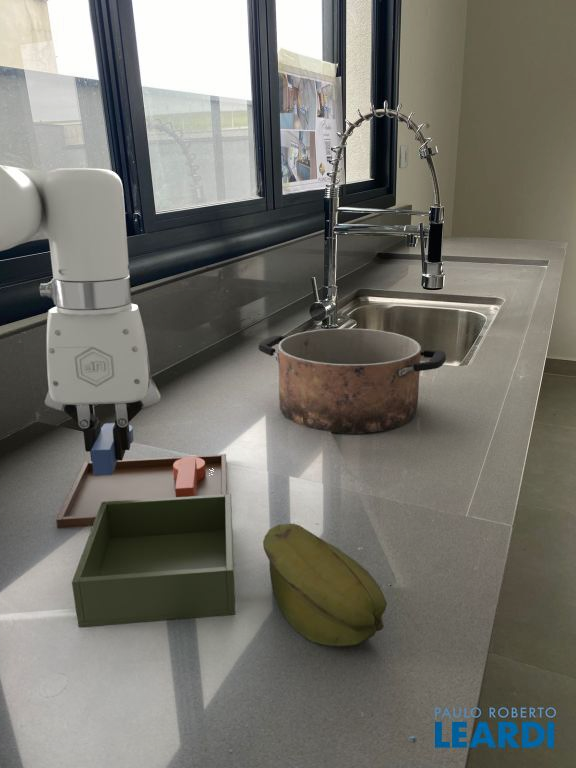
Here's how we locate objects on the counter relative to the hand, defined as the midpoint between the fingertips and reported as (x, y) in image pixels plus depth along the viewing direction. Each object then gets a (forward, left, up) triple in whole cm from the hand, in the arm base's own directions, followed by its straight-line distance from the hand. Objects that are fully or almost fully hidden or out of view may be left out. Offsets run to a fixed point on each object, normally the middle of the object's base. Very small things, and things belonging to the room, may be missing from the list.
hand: (109, 454), depth 68 cm
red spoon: (+8, +2, -6) cm, 10 cm away
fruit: (+21, -21, -6) cm, 31 cm away
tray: (+4, +2, -6) cm, 8 cm away
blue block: (0, +2, -1) cm, 2 cm away
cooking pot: (+33, +27, -6) cm, 43 cm away
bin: (+7, -14, -6) cm, 17 cm away
